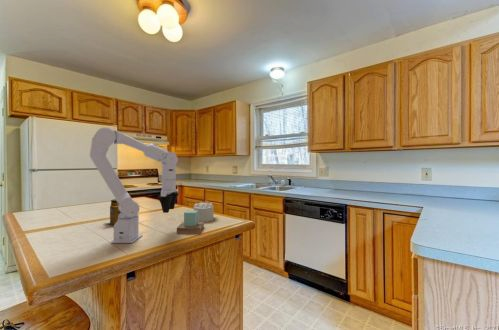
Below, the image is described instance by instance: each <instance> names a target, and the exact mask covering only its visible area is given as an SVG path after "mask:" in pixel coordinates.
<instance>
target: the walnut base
mask: <svg viewBox="0 0 499 330" xmlns="http://www.w3.org/2000/svg"><path fill="white" fill-rule="evenodd" d="M204 228H205V222H198V224H197V225H196V226H195V227H193V226H184V221H182V222H181V223H180V224H179V225H178V226H177V227H176V234H177V235H180V234H181V235H183V234H184V235H185V234H186V235H187V234H188V235H189V234H190V235H191V234H192V235H194V234H195V235H197V234H199V235H200V234H201V233H202V231H203V230H204Z"/></svg>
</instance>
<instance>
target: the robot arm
mask: <svg viewBox="0 0 499 330" xmlns="http://www.w3.org/2000/svg"><path fill="white" fill-rule="evenodd" d="M112 145H125V146H128V147H131V148H133V149H136V150H138V151H141V152H143V155H144V157H146V158H149V159H152V160H154V161H157V162H159V163H161V191H160V195H158V196H157V199H158V201H159V203H160V206H161V210H162V213H166V214H168V213H169V212H170V210H174V209H175V206H176V201H177V198H178V197H179V189H177V188H176V182H177V181H176V179H177V177H176V176H177V175H176V174H177V173H176V172H177V169H176V166H177V164H178V161H179V158H178V156H177V154H176V153H175V152H173V151H168V149H167V148H162V147H160V146H158V144H157V143H148V144H146V143H144V142H141V141H140V140H137V139H136V138H134V137H131V136H130V135H127V134H125V133H123V132H121V131H119V130H115V129H114V130H113V129H112V128H110V127H101V128H99V129H98V130H97V131H96V132H95V134H94V135H93V137H92V139H91V145H90V150H89V151H90V152H89V157H90V159H91V162H93V164H94V166H95V167H96V169H97V171H98V172H99V174H100V176H101V177H102V179H103V180H104V182H105V184H106V186H107V187H108V189H109V190H110V192H111V193H112V195H113V197H114V199H116V201H117V202H118V209H119V211H120V212H121V213H120V214H119V215H118V221H117V222H116V223H115V225H114V226H113V240H111V241H110V242H111V244H133V243H134V242H136V241H137V240H139V239H140V238H142V236H143V234H142V233H139V231H140V230H139V228H140V227H139V226H140V225H139V212H140V205H139V203H138V202H137V201H135V200H133V197H131V195H130V194H129V193H128V191H127V189H126V188H125V186H124V185H123V183H122V180H121V179H120V178H119V176H118V174H117V172H116V171H115V169H114V167H113V166H112V163H110V161H109V158H108V157H107V153H108V151H109V148H110V147H111V146H112Z"/></svg>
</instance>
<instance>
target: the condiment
mask: <svg viewBox="0 0 499 330" xmlns="http://www.w3.org/2000/svg"><path fill="white" fill-rule="evenodd" d="M120 213H121V212H120V211H119V209H118V202H117V201H116V199H115V198H114V199H112V200H110V205H109V222H106V223H103V225H104V226H105V227H107V228H110V227H114V225H115V223H116V222H117V221H118V215H119V214H120Z"/></svg>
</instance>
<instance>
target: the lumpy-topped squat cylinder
mask: <svg viewBox="0 0 499 330" xmlns="http://www.w3.org/2000/svg"><path fill="white" fill-rule="evenodd" d="M193 211H198V222H204V223H209V221H210V222H213V221H214V213H215V212H214V204H213V203H212V202H210V203H209V202H199V203H195V204H194V205H193Z"/></svg>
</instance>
